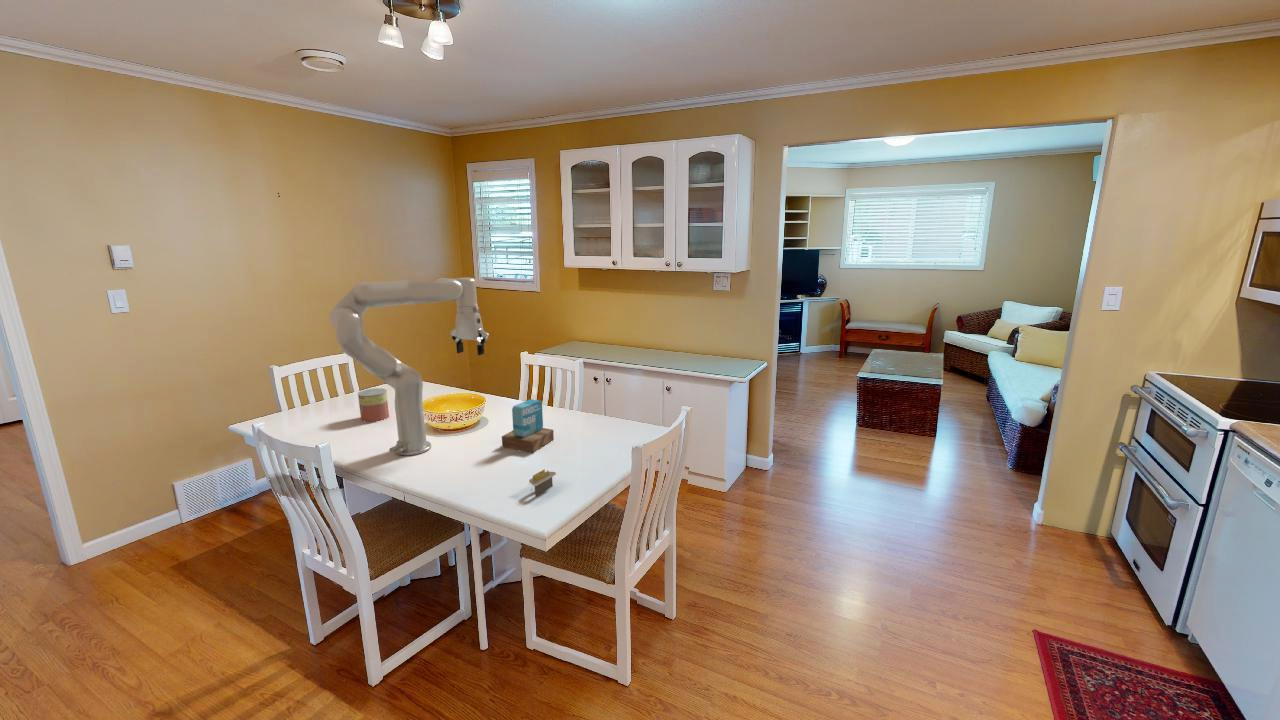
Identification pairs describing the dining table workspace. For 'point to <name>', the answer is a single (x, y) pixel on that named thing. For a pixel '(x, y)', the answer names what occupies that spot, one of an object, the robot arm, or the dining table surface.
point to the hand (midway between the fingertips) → (470, 353)
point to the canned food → (373, 405)
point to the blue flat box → (527, 418)
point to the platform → (542, 481)
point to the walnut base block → (528, 440)
